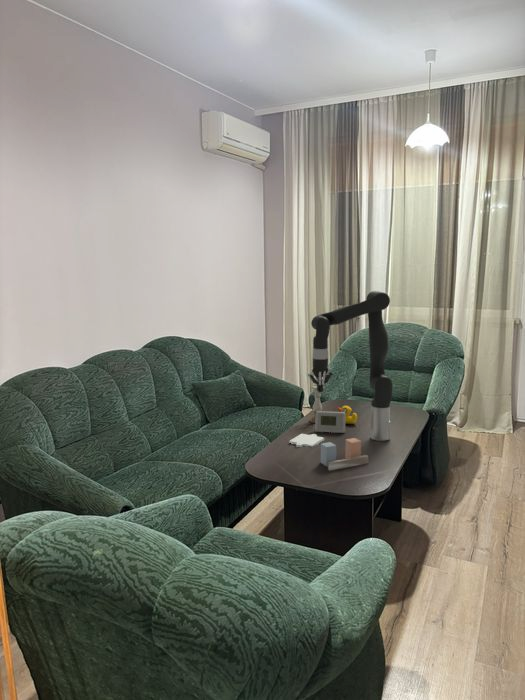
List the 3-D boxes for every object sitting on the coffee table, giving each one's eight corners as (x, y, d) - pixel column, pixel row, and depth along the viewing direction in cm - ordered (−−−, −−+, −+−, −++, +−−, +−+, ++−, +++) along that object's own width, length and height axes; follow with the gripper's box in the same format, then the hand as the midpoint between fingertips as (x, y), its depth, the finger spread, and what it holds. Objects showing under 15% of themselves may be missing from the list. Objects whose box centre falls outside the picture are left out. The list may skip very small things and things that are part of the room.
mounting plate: (304, 435, 283) (304, 432, 282) (326, 439, 276) (326, 436, 275) (286, 446, 268) (286, 442, 267) (309, 450, 261) (309, 447, 261)
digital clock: (313, 432, 287) (313, 413, 285) (318, 427, 295) (318, 408, 293) (343, 435, 281) (343, 416, 279) (347, 430, 289) (347, 411, 287)
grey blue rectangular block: (320, 462, 243) (320, 443, 241) (330, 460, 245) (330, 441, 243) (326, 466, 238) (326, 447, 236) (336, 464, 240) (336, 445, 238)
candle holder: (324, 423, 301) (324, 388, 297) (308, 423, 302) (308, 387, 299) (325, 419, 309) (326, 384, 306) (310, 418, 311) (310, 384, 307)
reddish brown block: (345, 458, 248) (345, 439, 246) (354, 456, 250) (354, 437, 248) (351, 461, 243) (351, 442, 242) (360, 460, 245) (361, 441, 243)
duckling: (335, 423, 301) (336, 406, 300) (339, 420, 306) (339, 403, 304) (355, 426, 296) (355, 408, 294) (358, 423, 301) (358, 406, 299)
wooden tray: (313, 461, 246) (313, 452, 246) (351, 454, 254) (351, 446, 253) (329, 472, 234) (329, 463, 233) (368, 464, 242) (368, 456, 241)
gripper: (312, 359, 254) (311, 395, 257) (336, 357, 260) (335, 392, 263) (304, 357, 261) (304, 391, 264) (328, 354, 266) (327, 388, 269)
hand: (320, 391), depth 263 cm, fingers closed
